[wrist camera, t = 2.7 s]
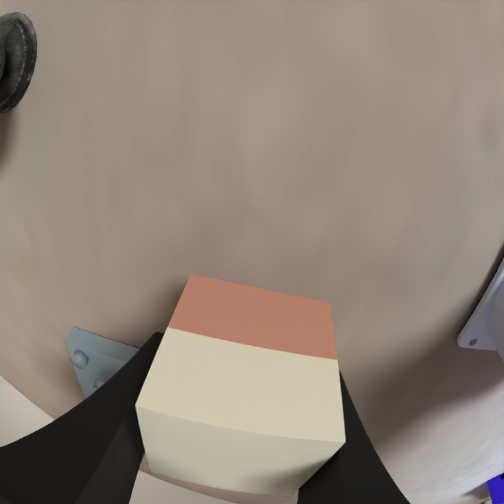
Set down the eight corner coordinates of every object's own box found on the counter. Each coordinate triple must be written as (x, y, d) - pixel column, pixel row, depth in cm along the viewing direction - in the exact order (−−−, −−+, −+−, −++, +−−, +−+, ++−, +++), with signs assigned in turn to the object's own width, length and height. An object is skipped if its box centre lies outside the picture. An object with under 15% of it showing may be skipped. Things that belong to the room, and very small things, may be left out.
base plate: (270, 379, 17) (267, 408, 15) (238, 458, 23) (235, 478, 21) (74, 326, 17) (58, 349, 15) (103, 421, 23) (95, 439, 21)
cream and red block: (329, 302, 10) (345, 441, 6) (293, 384, 12) (289, 497, 8) (191, 273, 10) (135, 405, 6) (184, 363, 12) (150, 472, 8)
